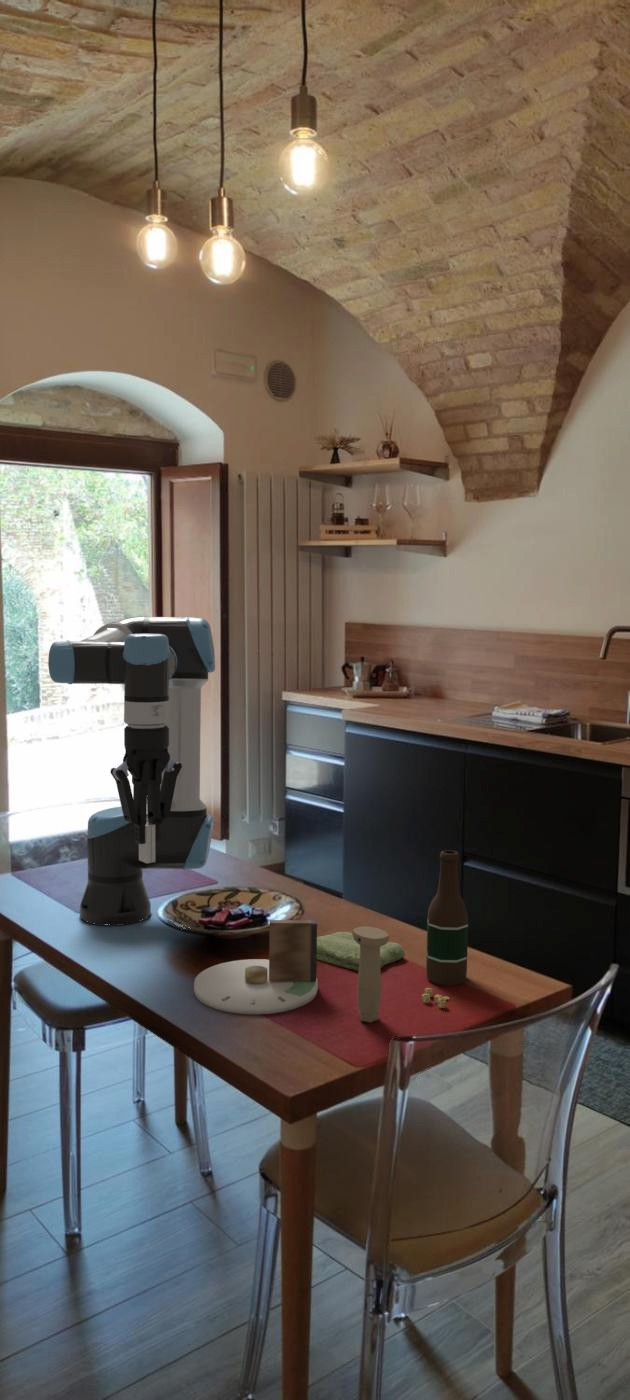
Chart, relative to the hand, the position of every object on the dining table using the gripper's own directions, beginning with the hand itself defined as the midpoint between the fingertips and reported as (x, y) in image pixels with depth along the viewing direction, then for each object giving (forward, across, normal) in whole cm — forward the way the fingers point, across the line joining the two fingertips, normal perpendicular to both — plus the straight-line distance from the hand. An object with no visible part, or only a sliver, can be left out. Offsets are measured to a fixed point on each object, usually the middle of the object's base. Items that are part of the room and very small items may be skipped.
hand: (147, 860), depth 181 cm
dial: (+24, +17, -9) cm, 31 cm away
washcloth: (+25, +42, -7) cm, 49 cm away
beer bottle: (+25, +48, -26) cm, 60 cm away
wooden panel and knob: (+23, +21, -11) cm, 33 cm away
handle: (+25, +24, -31) cm, 46 cm away
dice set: (+25, +38, -32) cm, 56 cm away
